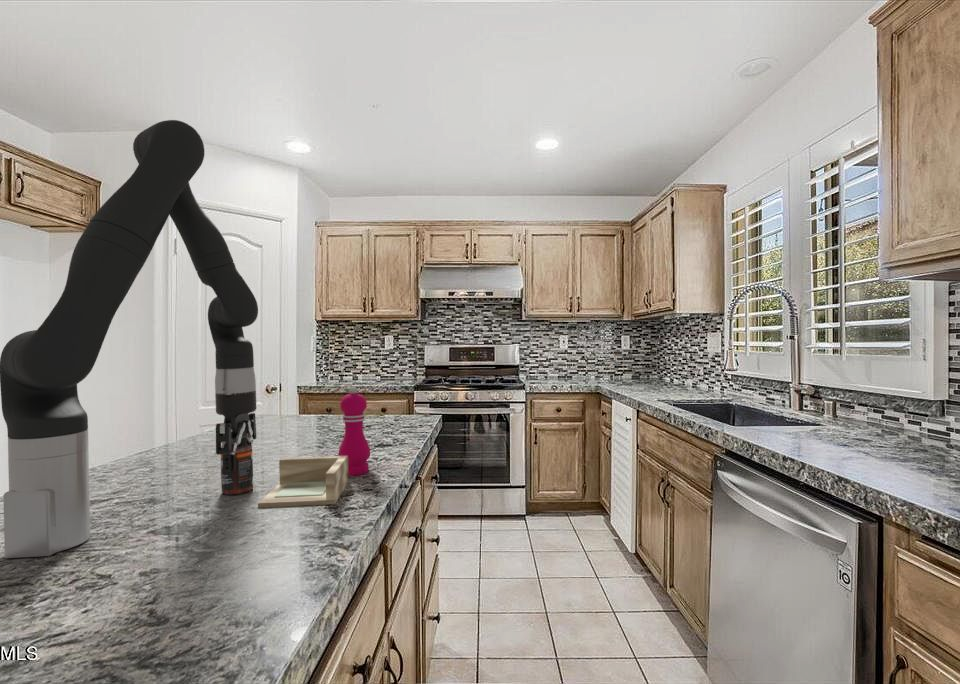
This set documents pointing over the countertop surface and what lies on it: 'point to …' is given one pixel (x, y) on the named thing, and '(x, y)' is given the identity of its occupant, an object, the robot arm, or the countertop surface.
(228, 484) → the supplement bottle
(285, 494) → the tray
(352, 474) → the pepper mill
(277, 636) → the countertop surface
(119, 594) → the countertop surface
